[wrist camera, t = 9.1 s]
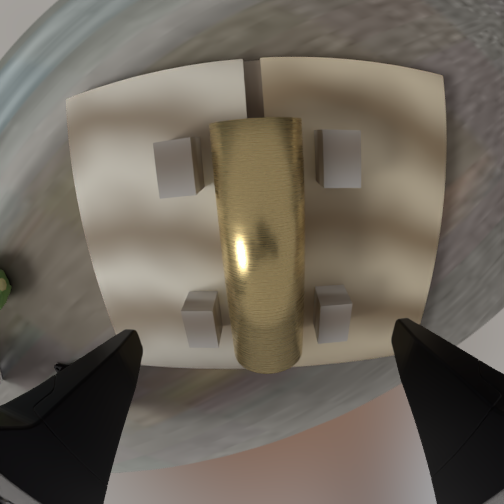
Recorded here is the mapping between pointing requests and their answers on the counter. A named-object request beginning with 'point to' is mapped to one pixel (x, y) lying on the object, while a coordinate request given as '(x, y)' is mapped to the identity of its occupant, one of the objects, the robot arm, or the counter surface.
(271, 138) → the hinge pin
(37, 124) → the counter surface
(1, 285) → the edible corn
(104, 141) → the hinge leaves
